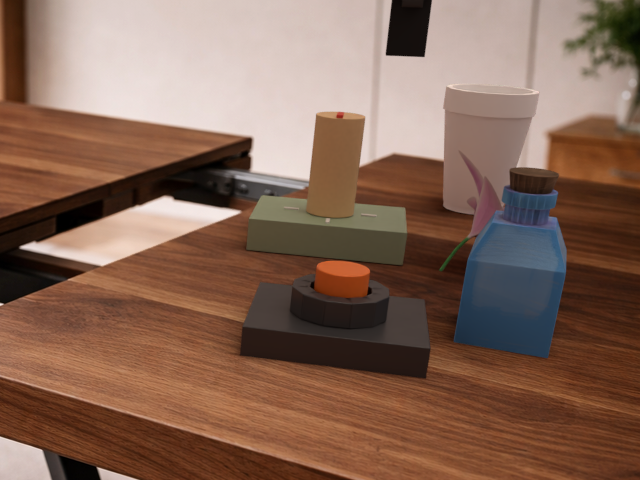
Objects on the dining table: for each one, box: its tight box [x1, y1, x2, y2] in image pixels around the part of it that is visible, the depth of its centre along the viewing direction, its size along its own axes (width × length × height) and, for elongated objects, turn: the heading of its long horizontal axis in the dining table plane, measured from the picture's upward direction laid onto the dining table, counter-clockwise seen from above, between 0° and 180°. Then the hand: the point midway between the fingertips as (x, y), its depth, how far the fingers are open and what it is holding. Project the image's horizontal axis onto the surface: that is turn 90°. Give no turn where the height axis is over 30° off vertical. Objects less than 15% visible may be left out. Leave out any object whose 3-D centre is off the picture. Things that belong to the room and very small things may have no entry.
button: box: [314, 260, 371, 298], centre depth 65 cm, size 4×4×2 cm
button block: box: [239, 273, 432, 379], centre depth 66 cm, size 12×10×4 cm
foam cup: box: [442, 83, 540, 216], centre depth 104 cm, size 10×9×13 cm
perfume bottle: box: [453, 166, 568, 359], centre depth 67 cm, size 6×6×12 cm
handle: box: [306, 111, 366, 218], centre depth 88 cm, size 4×4×9 cm
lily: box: [438, 150, 505, 273], centre depth 82 cm, size 12×12×10 cm
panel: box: [245, 194, 408, 266], centre depth 90 cm, size 14×10×3 cm
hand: (404, 55), depth 69 cm, fingers closed
